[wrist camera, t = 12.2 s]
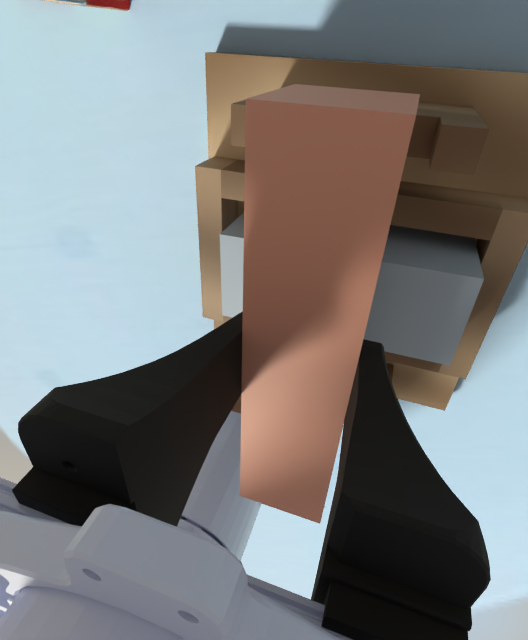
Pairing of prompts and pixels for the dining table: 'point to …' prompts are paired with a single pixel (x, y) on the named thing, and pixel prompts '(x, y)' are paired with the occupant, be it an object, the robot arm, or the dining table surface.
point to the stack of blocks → (98, 3)
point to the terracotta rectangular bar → (311, 274)
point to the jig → (416, 182)
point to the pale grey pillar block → (396, 289)
